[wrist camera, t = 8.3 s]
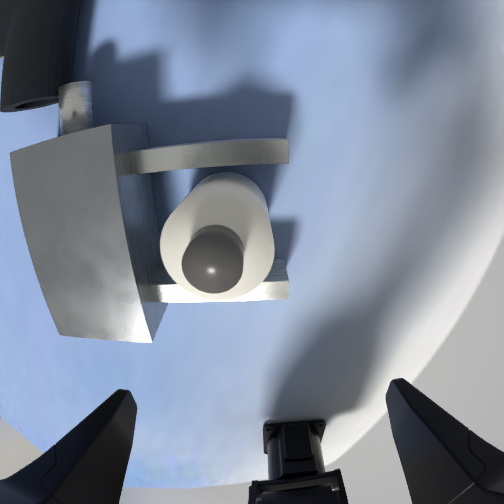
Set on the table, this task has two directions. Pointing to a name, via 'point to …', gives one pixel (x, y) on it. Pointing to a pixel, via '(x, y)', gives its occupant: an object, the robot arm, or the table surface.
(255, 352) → the table surface
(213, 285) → the white cylinder
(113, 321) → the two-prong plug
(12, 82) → the pipe connector
